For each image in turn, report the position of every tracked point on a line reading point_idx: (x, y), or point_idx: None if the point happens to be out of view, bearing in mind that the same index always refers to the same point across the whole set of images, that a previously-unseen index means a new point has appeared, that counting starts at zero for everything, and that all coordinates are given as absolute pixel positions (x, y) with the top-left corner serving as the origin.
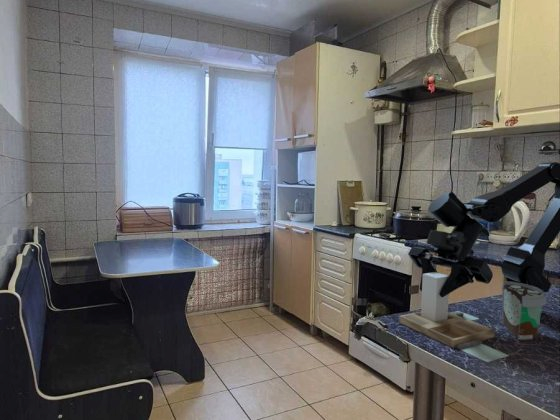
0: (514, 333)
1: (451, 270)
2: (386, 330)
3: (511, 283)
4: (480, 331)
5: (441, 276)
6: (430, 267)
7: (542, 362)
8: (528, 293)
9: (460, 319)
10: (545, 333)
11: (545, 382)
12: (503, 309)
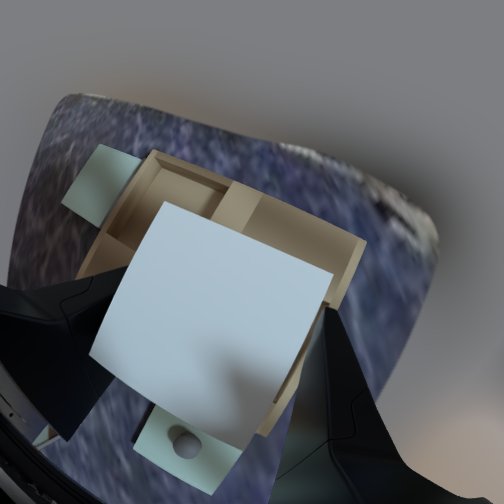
0: None
1: (31, 312)
2: (362, 180)
3: None
4: (92, 260)
5: (139, 290)
6: (307, 494)
7: (25, 228)
8: None
9: None
10: None
11: (42, 155)
12: (50, 439)
